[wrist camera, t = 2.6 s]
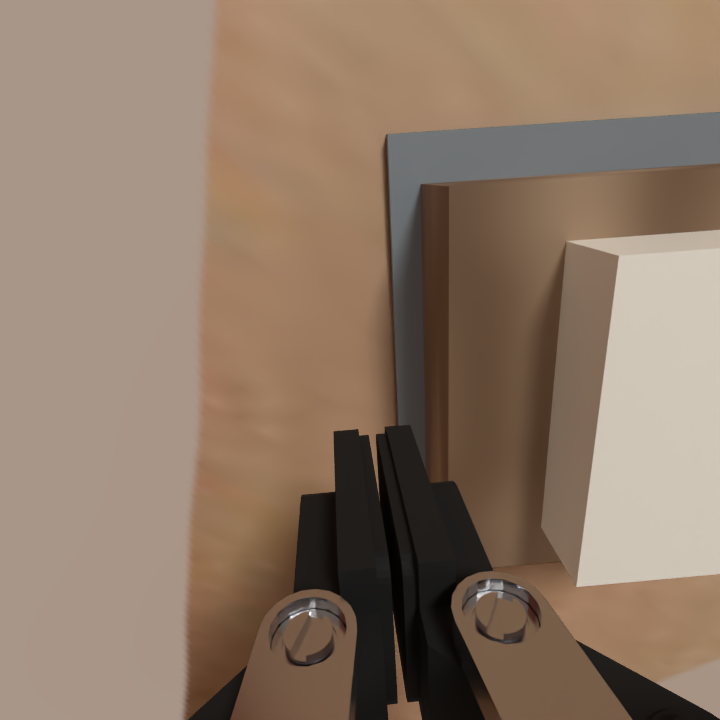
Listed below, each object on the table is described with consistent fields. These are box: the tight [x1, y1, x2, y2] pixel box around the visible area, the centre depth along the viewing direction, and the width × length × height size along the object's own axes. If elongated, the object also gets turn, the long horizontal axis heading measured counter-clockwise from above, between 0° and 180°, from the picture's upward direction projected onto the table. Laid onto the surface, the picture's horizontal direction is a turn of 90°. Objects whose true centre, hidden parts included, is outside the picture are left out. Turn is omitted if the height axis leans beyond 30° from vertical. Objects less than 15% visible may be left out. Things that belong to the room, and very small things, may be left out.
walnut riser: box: [421, 163, 720, 568], centre depth 16 cm, size 14×12×4 cm
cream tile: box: [541, 230, 720, 587], centre depth 13 cm, size 6×9×2 cm, turn 4°
